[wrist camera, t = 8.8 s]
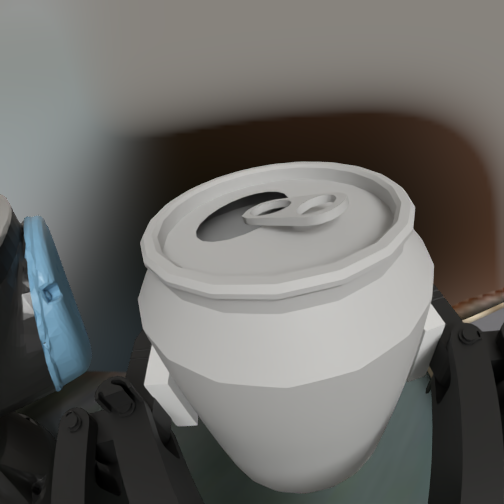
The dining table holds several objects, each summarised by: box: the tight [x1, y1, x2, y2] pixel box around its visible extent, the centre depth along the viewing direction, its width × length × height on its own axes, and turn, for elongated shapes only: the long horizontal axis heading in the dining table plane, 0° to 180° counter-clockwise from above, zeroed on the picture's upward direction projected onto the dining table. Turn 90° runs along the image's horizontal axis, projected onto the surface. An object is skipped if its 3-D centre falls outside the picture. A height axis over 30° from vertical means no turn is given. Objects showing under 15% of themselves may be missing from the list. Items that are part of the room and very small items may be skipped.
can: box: [138, 162, 434, 494], centre depth 10 cm, size 8×8×12 cm
